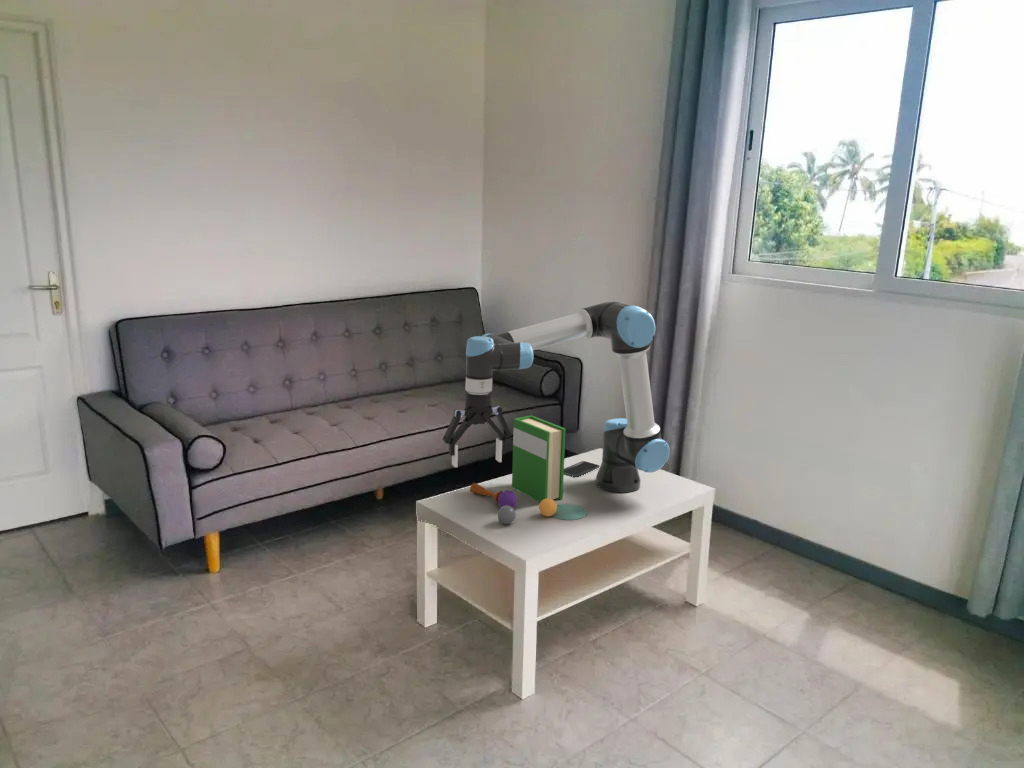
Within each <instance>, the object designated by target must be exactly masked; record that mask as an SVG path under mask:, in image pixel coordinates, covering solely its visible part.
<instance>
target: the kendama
mask: <svg viewBox="0 0 1024 768" xmlns="http://www.w3.org/2000/svg"><path fill="white" fill-rule="evenodd" d="M469 491H470V493H471V494H476V495H483V496H485V497H487V496H488V497H492V498H493V499H494V500H495V502H496V503H497V504H498V505H499V508H501V507H503V506H511V507H512V508H514V509H515V508H516V505H517V502H518V496H517V494H516V493H515V492H514V491H512V490H509V489H508V490H504V491H502V490H501V491H498V492H497V491H496V492H495V493H494V492H493V491H490V490H489V489H487V488H485V487H483V486H482V485H479V484H477V483H476V482H473V483H472V484H471V485H470V486H469Z"/></svg>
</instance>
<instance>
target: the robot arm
mask: <svg viewBox="0 0 1024 768" xmlns="http://www.w3.org/2000/svg"><path fill="white" fill-rule="evenodd" d="M655 322H656V321H655V319H654V317H653V316H652V314H651V313H650V312H649V311H647V310H646V309H644V308H642V307H640V306H637V305H633V304H632V305H630V304H628V303H627V304H626V303H621V302H620V301H619V302H618V301H606V302H603V303H602V302H600V303H598V304H595V305H590V306H587V307H583V308H580V309H578V310H577V311H576V313H573V314H569V315H565V316H561V317H558V318H555V319H549V320H547V321H543V322H538V323H536V324H533V325H531V324H530V325H528V326H525V327H524V326H523V327H521V328H517V329H512V330H510V331H506V332H502V333H501V332H500V333H497V334H495V333H485V334H482V335H478V336H476V335H475V336H471V337H469V338H468V339H467V340H466V347H465V348H466V351H465V389H464V390H465V391H466V392H465V394H464V395H465V397H464V399H465V400H464V402H465V403H464V409H458V408H455V409H454V411H453V417H452V419H451V421H450V423H449V425H448V427H447V429H446V431H445V433H444V435H443V437H442V441H443V442H444V444H446V445H447V444H448V454H449V455H450V456H451V466H453V468H458V463H459V462H458V461H459V458H458V457H459V453H458V452H459V445H458V443H457V442H458V441H459V440H460V438H462V436H463V435H464V434H465V433H466V431H467V430H468V428H470V427H471V426H472V425H474V426H476V425H485V423H486V424H487V425H488V426H489V428H491V430H492V431H493V432H494V433H495V434H496V435H497V436H498V437H496V439H495V460H496V461H497V462H498V463H502V462H503V460H502V459H503V458H502V457H503V451H504V450H505V449H506V441H507V440H508V438H511V437H512V433H511V430H510V429H509V426H508V424H507V422H506V420H505V418H504V415H503V408H502V407H500V406H499V405H495V406H493V407H492V404H493V394H492V391H493V377H494V376H493V373H494V371H509V370H519V371H520V370H524V369H529V368H530V367H532V364H533V363H534V351H535V350H540V349H542V348H545V347H549V346H554V345H557V344H561V343H564V342H569V341H572V340H575V339H579V338H582V337H583V338H584V339H586V340H588V339H592V338H606V339H609V340H610V342H611V350H612V353H613V354H615V355H616V356H617V359H618V364H619V371H620V378H621V379H620V381H621V387H622V394H623V395H622V396H623V403H624V410H625V418H622V417H621V418H612V419H608V420H606V421H605V422H604V425H603V431H602V432H603V435H602V436H603V437H602V438H603V439H602V456H601V458H602V459H601V464H600V465H599V466H600V468H599V469H598V471H597V474H596V477H595V485H596V486H597V487H598V488H600V489H602V490H605V491H609V492H611V493H612V492H613V493H631V492H636V491H638V490H639V489H640V488H641V476H640V473H639V471H642V472H644V473H655V472H658V471H659V470H661V469H662V468H663V467H664V466H665V464H666V463H667V462H668V460H669V457H670V446H669V444H668V443H667V441H666V440H664V439H662V433H661V432H662V431H661V427H660V425H659V424H657V423H656V421H655V417H654V415H655V414H654V407H653V400H652V391H651V390H652V389H651V383H650V373H649V366H648V358H647V352H648V351H649V350H650V348H651V342H652V341H653V337H655V334H656V323H655ZM492 414H494V415H495V416H496V419H497V421H498V423H499V425H500V427H501V429H502V431H501V430H500V428H499V427H498V426H497V425H496V423H494V421H493V420H492V419H491V417H492ZM463 416H465V418H464V419H463V420H462V422H461V424H460V425H459V423H460V421H461V418H463Z"/></svg>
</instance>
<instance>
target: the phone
mask: <svg viewBox="0 0 1024 768" xmlns="http://www.w3.org/2000/svg"><path fill="white" fill-rule="evenodd" d="M600 466H601V465H599V464H596V463H593V462H589V461H584V460H582V461H579V462H577V463H574V464H571V465H570V466H567V467H564V475H565V474H566V475H565V476H568V475H569V476H568V477H572V476H573V477H572V478H575V477H578V478H580V477H582V476H581V475H583V476H584V474H585V475H587V474H589V473H592V472H594V471H596V470H598V469H597V468H599V467H600ZM595 469H596V470H595ZM593 470H594V471H593ZM591 471H592V472H591ZM588 472H589V473H588ZM586 473H587V474H586ZM579 476H580V477H579Z"/></svg>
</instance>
